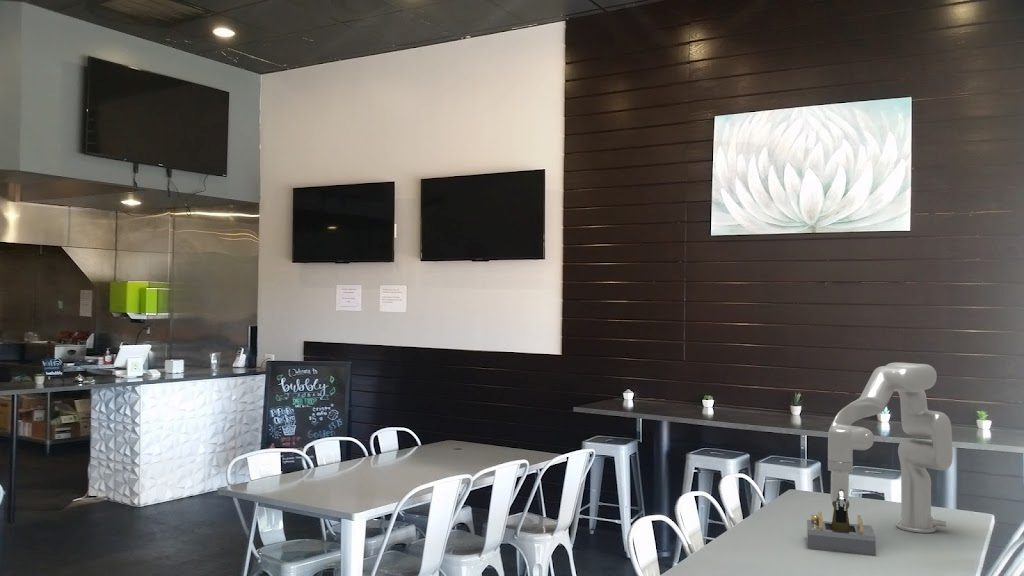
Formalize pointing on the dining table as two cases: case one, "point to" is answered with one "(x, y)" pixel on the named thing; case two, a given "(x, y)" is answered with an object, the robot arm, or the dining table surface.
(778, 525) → the dining table surface
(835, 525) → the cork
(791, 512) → the dining table surface
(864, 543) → the grey slotted box
